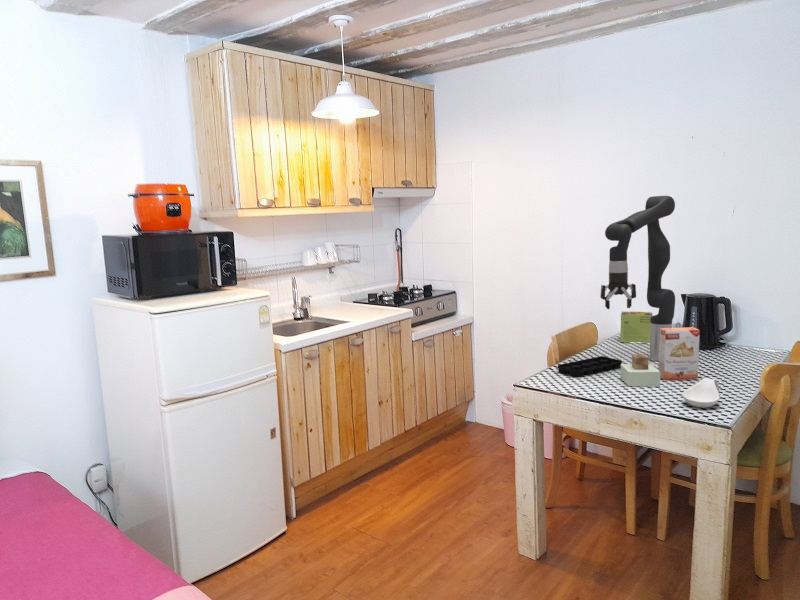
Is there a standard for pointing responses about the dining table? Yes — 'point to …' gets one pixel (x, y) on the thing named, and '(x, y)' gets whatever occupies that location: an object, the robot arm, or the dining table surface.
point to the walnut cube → (640, 362)
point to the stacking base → (640, 376)
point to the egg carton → (589, 366)
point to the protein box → (635, 326)
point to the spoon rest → (702, 393)
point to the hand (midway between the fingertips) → (618, 308)
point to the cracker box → (679, 353)
